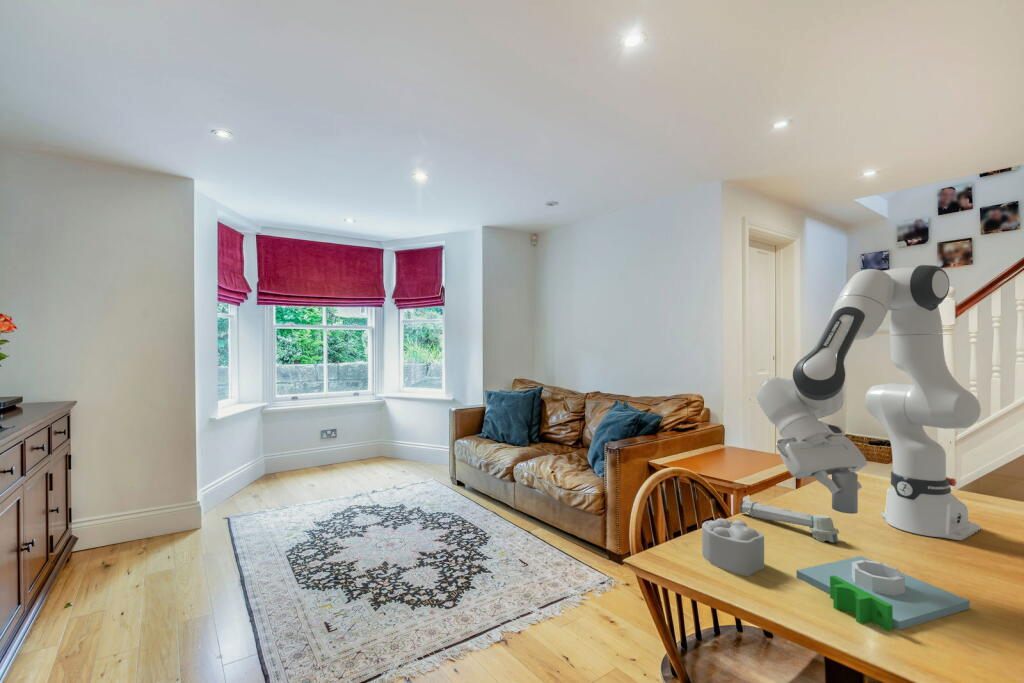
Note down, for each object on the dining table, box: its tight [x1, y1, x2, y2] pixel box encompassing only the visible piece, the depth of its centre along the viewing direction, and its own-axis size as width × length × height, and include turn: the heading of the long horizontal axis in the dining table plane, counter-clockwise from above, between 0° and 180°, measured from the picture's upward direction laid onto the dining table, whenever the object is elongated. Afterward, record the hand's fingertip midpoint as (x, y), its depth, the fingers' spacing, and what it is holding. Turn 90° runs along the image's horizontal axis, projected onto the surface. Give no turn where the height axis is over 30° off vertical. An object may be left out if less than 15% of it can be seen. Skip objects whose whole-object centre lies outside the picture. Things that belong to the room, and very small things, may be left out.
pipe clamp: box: [829, 575, 894, 632], centre depth 88 cm, size 11×4×5 cm, turn 15°
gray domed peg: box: [831, 470, 859, 515], centre depth 103 cm, size 5×5×8 cm
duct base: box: [796, 555, 971, 631], centre depth 95 cm, size 20×20×4 cm
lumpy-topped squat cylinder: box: [701, 518, 765, 576], centre depth 109 cm, size 10×13×9 cm
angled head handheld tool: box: [739, 500, 840, 543], centre depth 129 cm, size 5×7×25 cm
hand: (847, 490), depth 102 cm, fingers closed on gray domed peg, 5 cm apart
